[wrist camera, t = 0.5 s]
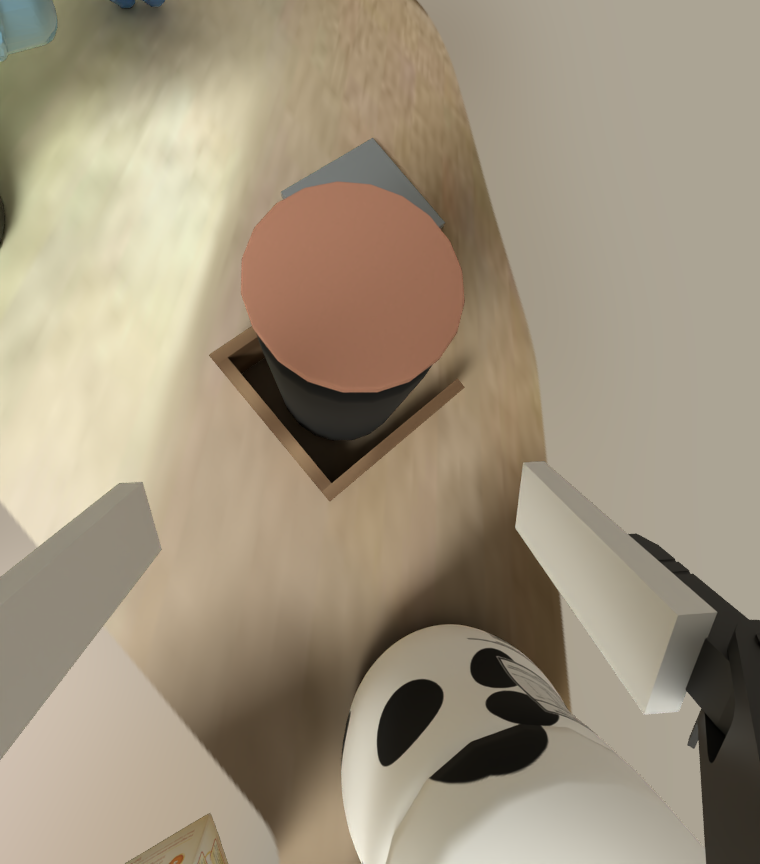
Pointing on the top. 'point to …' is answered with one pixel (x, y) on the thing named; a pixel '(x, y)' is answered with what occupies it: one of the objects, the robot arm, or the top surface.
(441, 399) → the holder
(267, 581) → the top surface
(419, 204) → the plate
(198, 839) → the coffeecake box
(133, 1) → the grapes
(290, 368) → the coffee jar
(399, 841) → the milk container
